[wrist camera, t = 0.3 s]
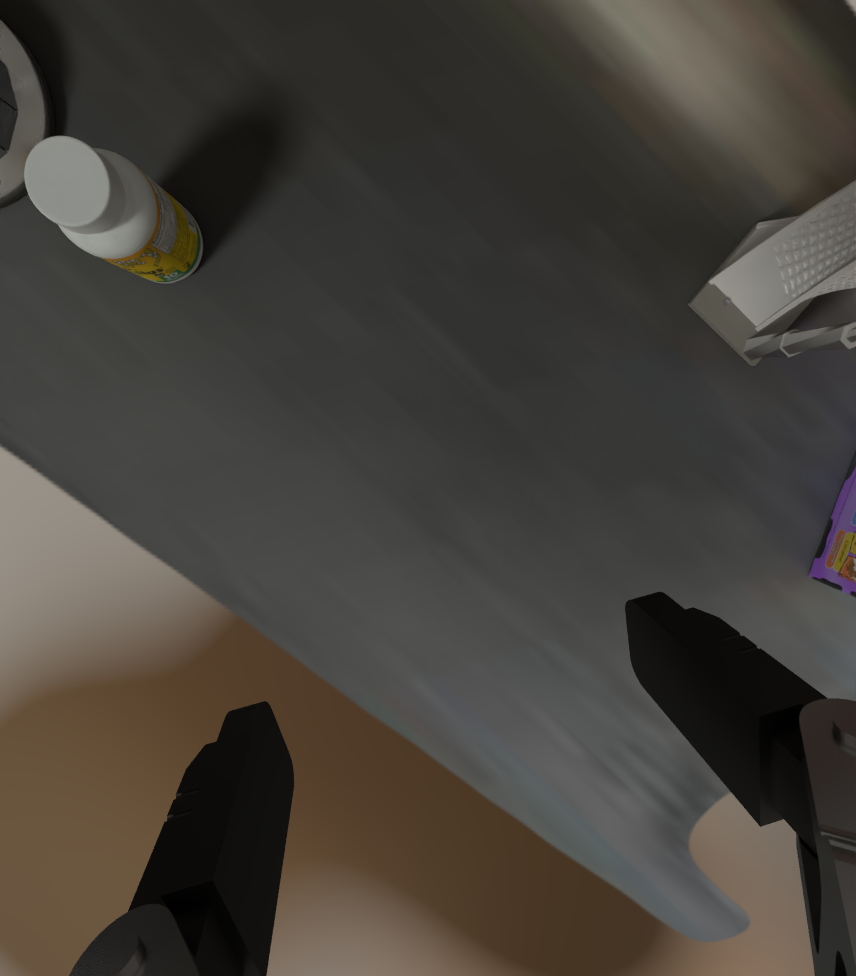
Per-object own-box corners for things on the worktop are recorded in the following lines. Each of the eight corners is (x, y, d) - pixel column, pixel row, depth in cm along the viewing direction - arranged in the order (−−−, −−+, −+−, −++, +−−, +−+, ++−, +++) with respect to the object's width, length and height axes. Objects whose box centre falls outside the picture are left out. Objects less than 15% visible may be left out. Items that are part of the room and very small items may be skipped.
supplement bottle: (213, 215, 32) (136, 142, 23) (195, 296, 33) (115, 257, 24) (131, 187, 32) (17, 100, 22) (115, 270, 32) (0, 220, 23)
